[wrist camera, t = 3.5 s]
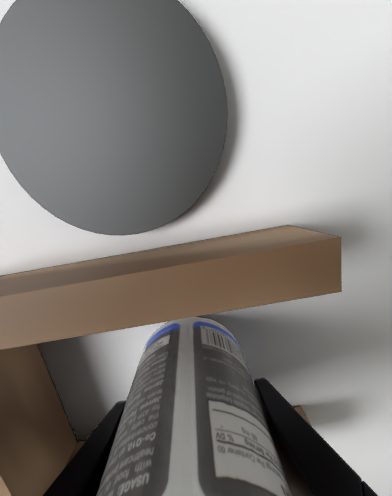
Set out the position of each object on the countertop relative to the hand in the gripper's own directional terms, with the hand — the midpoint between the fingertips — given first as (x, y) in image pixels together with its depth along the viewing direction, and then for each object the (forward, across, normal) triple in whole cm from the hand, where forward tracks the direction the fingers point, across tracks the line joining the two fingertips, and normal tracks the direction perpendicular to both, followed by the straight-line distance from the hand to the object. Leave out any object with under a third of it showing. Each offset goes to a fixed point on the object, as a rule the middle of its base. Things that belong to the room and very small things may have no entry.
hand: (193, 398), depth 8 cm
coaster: (+2, +1, -10) cm, 11 cm away
